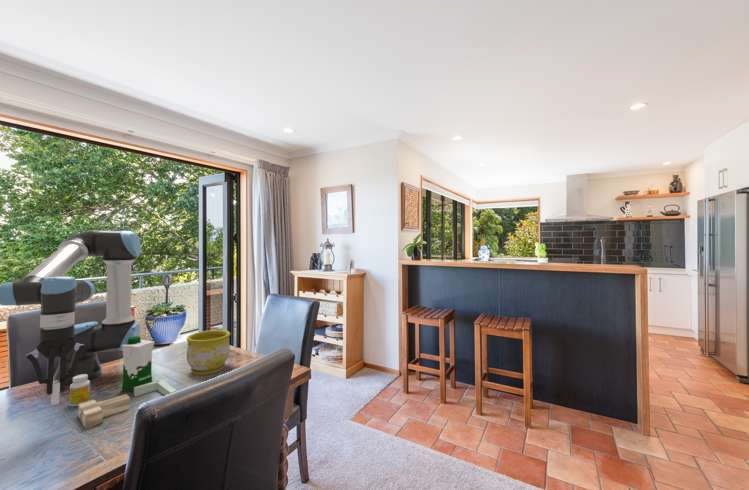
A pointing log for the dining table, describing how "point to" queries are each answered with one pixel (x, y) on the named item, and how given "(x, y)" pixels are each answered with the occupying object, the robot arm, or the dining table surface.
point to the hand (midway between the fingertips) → (55, 403)
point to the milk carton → (137, 363)
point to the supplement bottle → (79, 390)
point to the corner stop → (154, 388)
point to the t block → (101, 409)
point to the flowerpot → (208, 351)
